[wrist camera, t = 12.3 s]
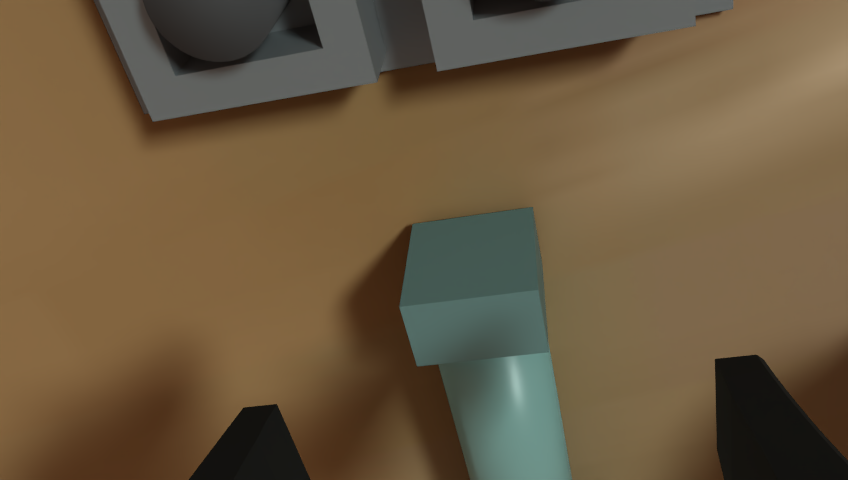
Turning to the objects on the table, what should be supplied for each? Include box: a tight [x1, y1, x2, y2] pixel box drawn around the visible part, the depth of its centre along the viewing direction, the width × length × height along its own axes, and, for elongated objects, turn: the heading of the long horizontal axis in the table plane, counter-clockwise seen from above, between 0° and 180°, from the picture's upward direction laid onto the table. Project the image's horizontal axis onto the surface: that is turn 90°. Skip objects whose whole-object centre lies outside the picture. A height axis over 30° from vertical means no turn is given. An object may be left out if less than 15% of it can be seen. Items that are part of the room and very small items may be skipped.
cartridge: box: [399, 207, 572, 480], centre depth 25 cm, size 3×15×4 cm, turn 12°
